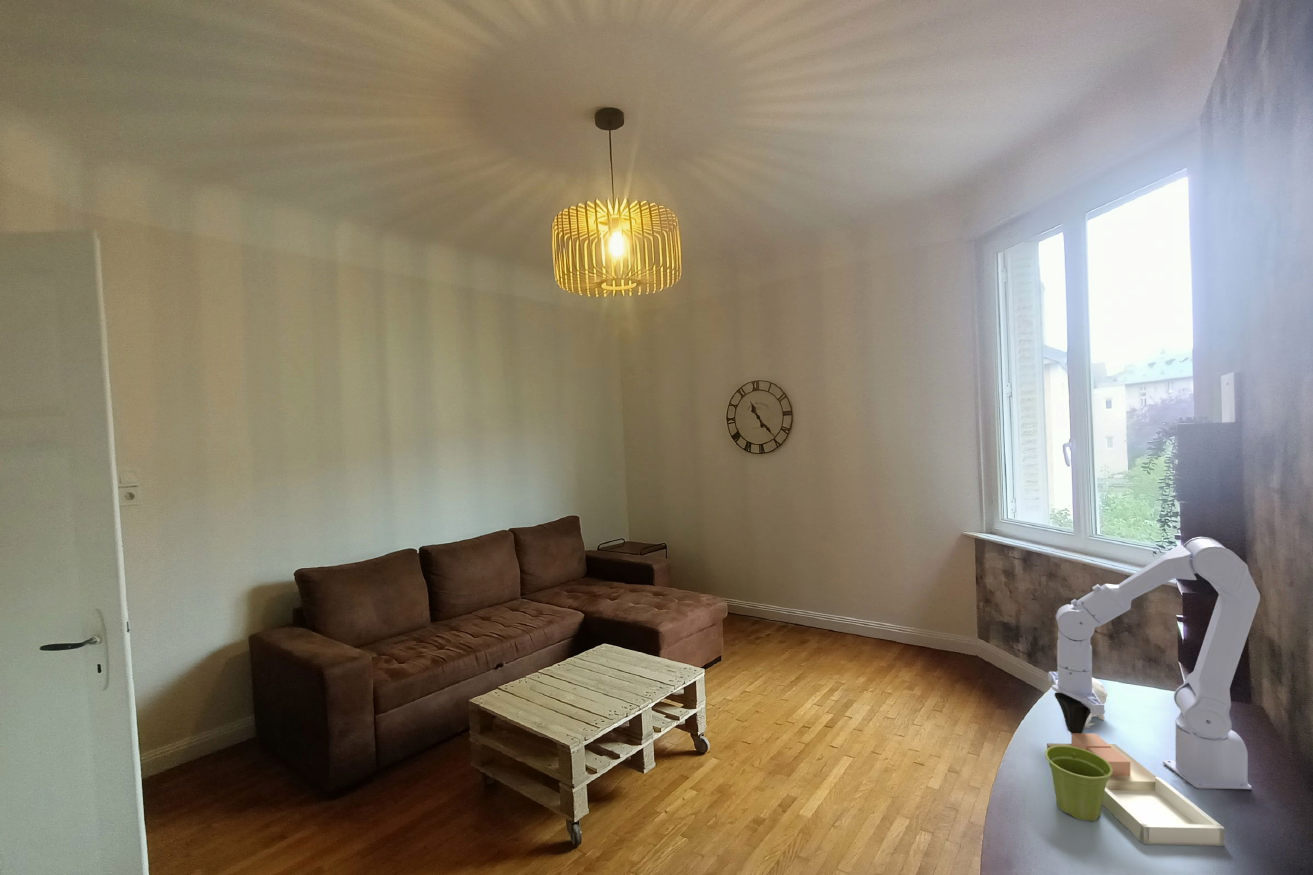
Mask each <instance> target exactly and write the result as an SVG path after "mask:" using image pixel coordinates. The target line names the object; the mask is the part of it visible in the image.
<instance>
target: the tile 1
mask: <svg viewBox="0 0 1313 875" xmlns="http://www.w3.org/2000/svg"><path fill="white" fill-rule="evenodd" d="M1070 734H1071V737H1070V738H1071V743H1070V744H1072V747H1077V748H1081V749H1084V750H1087V751H1088V748H1111V746H1110V745H1109V744H1110V743H1108V742H1106V741H1105V740H1104V739H1103V738H1102V737H1100V736H1099V735H1098V734H1097V733H1083V732H1082V733H1071V732H1070Z"/></svg>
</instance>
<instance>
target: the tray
mask: <svg viewBox="0 0 1313 875" xmlns="http://www.w3.org/2000/svg"><path fill="white" fill-rule="evenodd" d="M1102 806H1104V808H1106V809H1107V810H1108V812H1110V813H1111V814H1112V815H1113V816H1114V817H1115V818H1116V819H1117V820H1118V821H1119V822H1121V823H1122V825H1123V826H1124V827H1125V828H1126V829H1127V830H1128V831H1130V832H1131V833H1132V834H1133V835H1134V836H1135V837H1136V838H1137V839H1138V840H1139V841H1140V842H1141V843H1142V844H1143V845H1167V846H1168V845H1169V846H1170V845H1171V846H1172V845H1173V846H1215V847H1216V846H1217V847H1219V846H1220V847H1223V846H1224V847H1225V845H1226V829H1225V827H1224V826H1223V825H1221V824H1220V823H1218V822H1217V821H1216V820H1215V819H1214V818H1212V817H1211V816H1210V815H1208V814H1207V813H1206V812H1205V811H1204V810H1202V809H1201V808H1200V807H1198V806H1197V805H1196V804H1195V803H1193V802H1192V801H1191V800H1190V799H1188V798H1187V797H1186V796H1184V795H1183V794H1182V793H1180V791H1178V790H1177V789H1176V788H1174V787H1173V786H1172V785H1170V783H1168V782H1166V781H1165V780H1164V779H1162V778H1161V777H1159V776H1156V777H1155V791H1133V790H1108V789H1107V788H1106V787H1105V791H1104V796H1103V802H1102Z"/></svg>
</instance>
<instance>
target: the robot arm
mask: <svg viewBox="0 0 1313 875" xmlns="http://www.w3.org/2000/svg"><path fill="white" fill-rule="evenodd" d="M1195 574H1198V575H1199V576H1200V577H1202V578H1203V579H1205V580H1206V581H1207V582H1209V583H1210V585H1211V586H1212V587H1213V589H1214V590H1215V591H1216V592H1217V594H1218V596H1217V599H1216V601H1215V606H1214V607H1213V608H1214V609H1213V611H1212V615H1211V617H1210V620H1209V623H1208V626H1207V630H1206V632H1205V635H1204V639H1203V642H1202V645H1201V648H1200V651H1199V653H1198V656H1197V660H1196V663H1195V666H1194V669H1193V671H1192V672H1191V673H1189V674H1187V675H1186V678H1185V681H1184V682H1183V684H1181V685H1180V686H1179V687H1177V688H1176V690H1175V691H1174V694H1173V699H1174V703H1175V705H1176V707H1177V708H1179V710H1180V713H1179V715H1178V716H1177V717H1176V718H1175V760H1173V759H1172V760H1168V759H1167V760H1162V763H1163V764H1164V765H1165V766H1166V767H1168V768H1169V769H1171V771H1173V772H1174V773H1175V774H1177V775H1178V776H1180V777H1181V778H1182V779H1183V780H1184V781H1186V782H1188V783H1189V784H1190V785H1191V786H1193V787H1195V788H1196V789H1217V790H1218V789H1220V790H1222V789H1223V790H1224V789H1225V790H1227V789H1228V790H1229V789H1230V790H1231V789H1232V790H1252V785H1251V784H1249V782H1248V759H1249V758H1248V755H1249V754H1248V749H1247V746H1246V744H1245V741H1244V740H1243V739H1242V737H1241V736H1240V735H1239V733H1237V732H1236V731H1235V730H1232V727H1233V726H1232V720H1231V717H1230V710H1231V707H1232V702H1231V701H1232V700H1231V699H1232V698H1231V691H1230V689H1231V685H1232V682H1233V680H1234V676H1235V673H1236V671H1237V668H1238V666H1239V662H1240V659H1241V657H1242V656H1241V655H1242V653H1243V650H1244V647H1245V645H1246V642H1247V638H1248V636H1249V632H1250V629H1251V627H1252V623H1253V621H1254V618H1255V616H1256V612H1257V611H1258V610H1257V609H1258V606H1259V604H1260V601H1261V594H1260V592H1259V590H1258V587H1257V585H1256V584H1255V581H1254V579H1253V577H1252V576H1251V573H1250V570H1249V566H1248V564H1247V563H1246V562H1245V561H1243V559H1241V558H1240V557H1239V556H1238V555H1237V554H1236V553H1235V552H1234V551H1233V550H1231V549H1228V548H1227V547H1225V546H1224V545H1223V544H1222V543H1221V542H1219V541H1217V540H1216V539H1213V538H1211V537H1205V536H1197V537H1193V538H1190V539H1188V540H1187V541H1186V542H1185V543H1184V544H1183V545H1182V544H1179V545H1176V546H1175V547H1173V548H1171V549H1170V550H1169V551H1167V552H1166V553H1164V554H1163V555H1161V556H1159V557H1158V558H1157V559H1155V560H1153V561H1152V562H1150V563H1149V564H1147V565H1146V566H1144V567H1143V568H1141V569H1139V570H1138V571H1136V573H1134V574H1132V575H1131V576H1129V577H1128V578H1126V579H1124V580H1122V581H1121V582H1120V583H1118V584H1112V583H1111V584H1110V583H1104V584H1102V585H1100V584H1098V583H1097V584H1096V585H1094V586H1092V591H1091V592H1088V593H1087V594H1086V595H1084V596H1083V597H1081V598H1079V599H1076V598H1074V599H1072V600H1071V601H1070V604H1069V603H1068V604H1064V605H1062V606H1061V607H1059V609H1057V611H1056V614H1055V619H1056V622H1057V626H1058V632H1057V637H1058V639H1057V641H1056V644H1057V645H1056V651H1057V654H1056V655H1057V656H1056V657H1057V658H1056V660H1057V671H1048V681H1049V682H1050V683H1054V684H1052V685H1051V689H1052V690H1053V691H1055V693H1054V697H1055V699H1056V702H1058V704H1059V707H1060V709H1061V712H1062V715H1063V718H1064V721H1065V725H1066V729H1067V731H1069V732H1070V734H1071V733H1083V732H1084V729H1085V727H1084V726H1085V723H1086V720H1087V718H1088V716H1089V715H1090V713H1092V714H1093V715H1104V716H1105V713H1104V710H1105V703H1104V704H1102V703H1101V702H1100V701H1099V699H1098V697H1097V696H1096V694H1095V692H1094V691H1093V689H1092V678H1093V647H1092V645H1091V638H1092V637H1093V635H1094V633H1095V631H1096V630H1095V629H1096V628H1098V627H1101V626H1103V625H1105V624H1107V623H1108V622H1110V621H1113V620H1114V619H1115V618H1118V617H1119V616H1120V615H1123V614H1124V613H1127V612H1128V611H1129V610H1131V607H1132V602H1133V600H1134V599H1136V598H1137V597H1140V596H1142V595H1144V594H1146V593H1148V592H1150V591H1152V590H1154V589H1155V588H1158V587H1159V586H1161V585H1163V584H1165V583H1167V582H1170V581H1171V580H1174V579H1177V580H1178V579H1179V580H1188V581H1197V580H1198V579H1197V577H1196V575H1195Z"/></svg>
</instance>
